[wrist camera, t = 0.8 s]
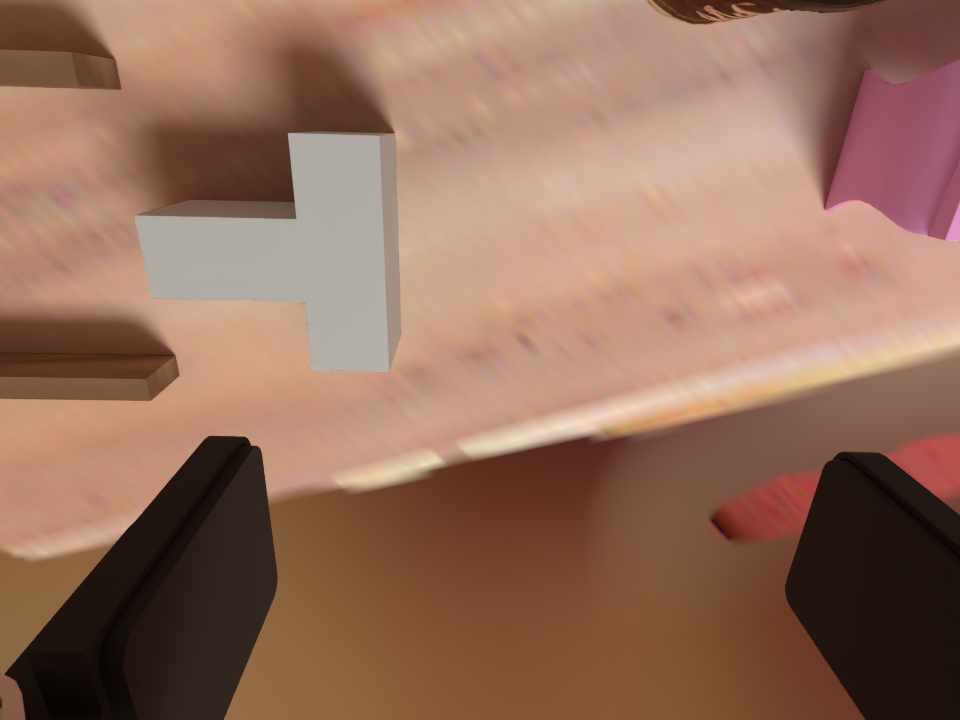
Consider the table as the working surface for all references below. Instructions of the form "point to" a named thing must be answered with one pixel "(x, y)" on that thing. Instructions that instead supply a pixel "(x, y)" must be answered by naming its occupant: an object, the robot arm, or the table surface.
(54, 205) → the table surface
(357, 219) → the tee block
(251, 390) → the table surface
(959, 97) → the toy chair
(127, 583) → the robot arm
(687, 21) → the coffee cup
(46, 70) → the corral
